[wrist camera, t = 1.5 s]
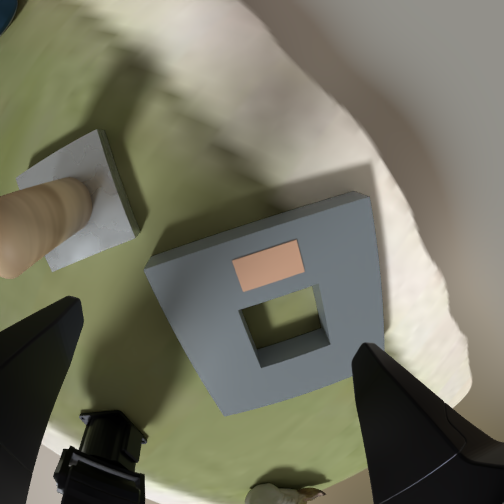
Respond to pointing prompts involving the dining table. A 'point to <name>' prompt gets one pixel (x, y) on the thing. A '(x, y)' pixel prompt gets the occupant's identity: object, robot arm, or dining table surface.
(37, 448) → the robot arm
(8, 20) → the soda can
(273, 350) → the hole plate
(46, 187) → the peg
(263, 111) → the dining table surface
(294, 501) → the ceramic sculpture
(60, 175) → the plate
